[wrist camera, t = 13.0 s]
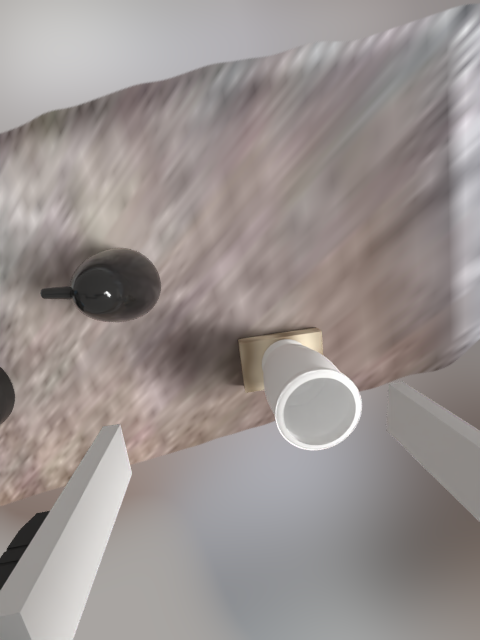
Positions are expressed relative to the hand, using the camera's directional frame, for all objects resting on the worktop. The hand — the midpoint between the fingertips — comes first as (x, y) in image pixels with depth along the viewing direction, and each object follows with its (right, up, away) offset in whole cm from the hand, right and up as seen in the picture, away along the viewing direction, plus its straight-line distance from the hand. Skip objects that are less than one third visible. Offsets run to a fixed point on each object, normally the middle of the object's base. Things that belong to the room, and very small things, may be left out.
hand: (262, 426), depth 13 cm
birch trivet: (+6, -1, +34) cm, 35 cm away
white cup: (+7, -2, +32) cm, 33 cm away
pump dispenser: (-18, +11, +29) cm, 36 cm away
